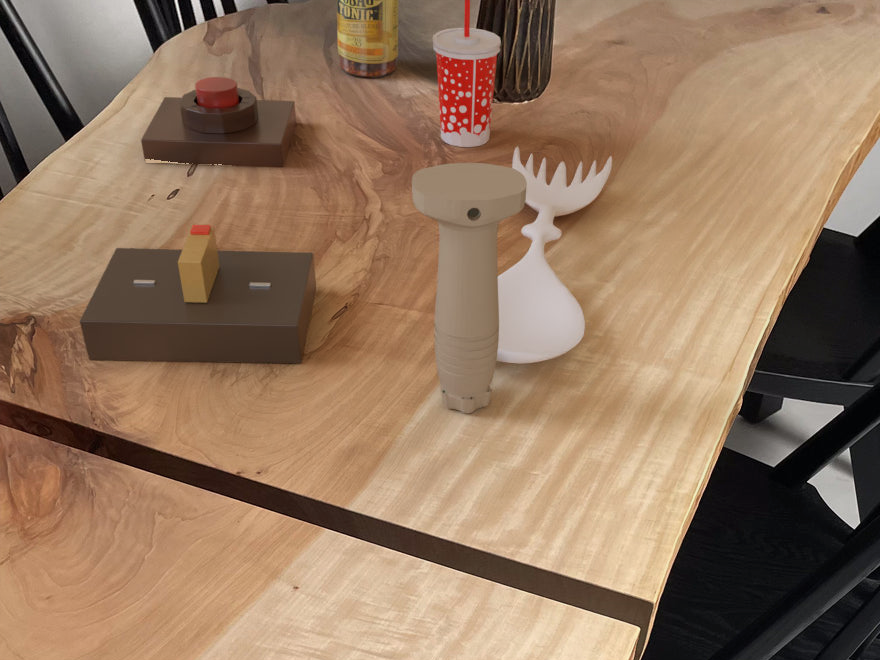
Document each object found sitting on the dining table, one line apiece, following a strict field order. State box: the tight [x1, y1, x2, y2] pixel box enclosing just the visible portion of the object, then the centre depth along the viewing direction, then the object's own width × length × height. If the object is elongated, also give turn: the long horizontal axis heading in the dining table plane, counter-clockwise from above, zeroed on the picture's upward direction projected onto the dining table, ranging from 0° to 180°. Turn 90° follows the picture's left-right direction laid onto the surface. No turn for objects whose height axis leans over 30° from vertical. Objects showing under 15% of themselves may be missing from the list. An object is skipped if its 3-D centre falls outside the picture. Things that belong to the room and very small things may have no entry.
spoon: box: [496, 145, 613, 364], centre depth 84 cm, size 9×32×3 cm, turn 172°
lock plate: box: [79, 247, 317, 364], centre depth 76 cm, size 14×10×3 cm
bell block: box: [140, 87, 297, 168], centre depth 99 cm, size 12×10×4 cm
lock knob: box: [178, 224, 219, 303], centre depth 74 cm, size 5×2×3 cm, turn 2°
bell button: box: [194, 76, 239, 109], centre depth 97 cm, size 4×4×2 cm
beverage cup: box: [432, 0, 502, 148], centre depth 99 cm, size 6×6×14 cm
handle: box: [411, 162, 527, 414], centre depth 66 cm, size 5×6×15 cm
